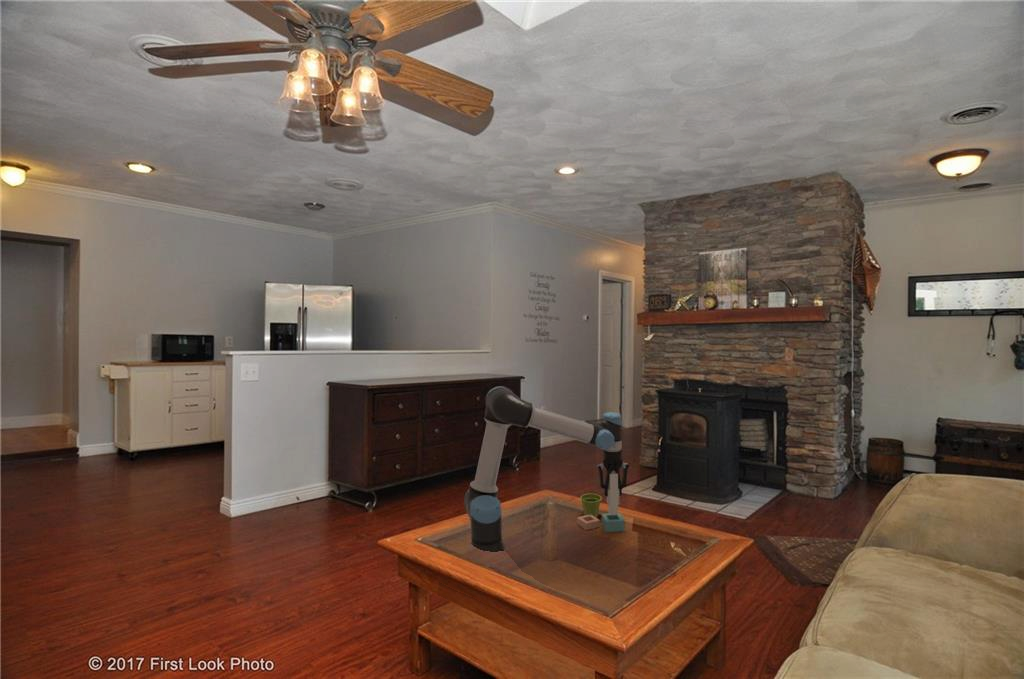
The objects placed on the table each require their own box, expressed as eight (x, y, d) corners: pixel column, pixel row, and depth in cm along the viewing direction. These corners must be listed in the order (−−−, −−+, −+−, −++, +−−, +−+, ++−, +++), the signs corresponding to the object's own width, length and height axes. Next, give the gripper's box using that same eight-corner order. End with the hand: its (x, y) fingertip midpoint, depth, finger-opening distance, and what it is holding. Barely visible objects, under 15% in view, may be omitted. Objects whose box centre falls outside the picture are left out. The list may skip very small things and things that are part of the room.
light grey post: (610, 515, 235) (609, 470, 233) (608, 511, 238) (607, 467, 236) (618, 514, 235) (617, 470, 233) (616, 511, 238) (615, 467, 236)
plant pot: (603, 520, 244) (603, 501, 243) (581, 521, 244) (581, 502, 243) (600, 511, 253) (600, 493, 253) (579, 512, 254) (579, 493, 253)
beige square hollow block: (585, 530, 235) (585, 523, 235) (577, 523, 242) (577, 517, 241) (599, 527, 238) (599, 520, 238) (591, 520, 244) (591, 514, 244)
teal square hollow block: (605, 532, 233) (605, 521, 233) (601, 523, 241) (601, 513, 241) (624, 531, 234) (624, 520, 233) (619, 522, 242) (619, 512, 241)
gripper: (595, 453, 229) (595, 507, 232) (634, 451, 230) (634, 505, 233) (591, 447, 237) (592, 500, 239) (629, 445, 238) (629, 498, 240)
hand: (613, 503), depth 236 cm, fingers closed on light grey post, 3 cm apart
